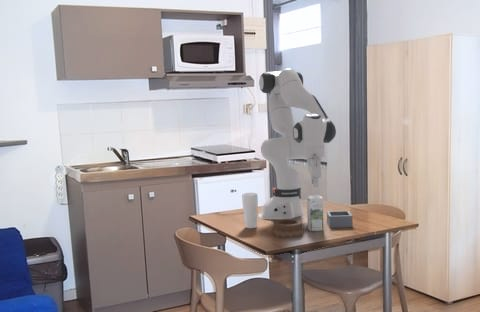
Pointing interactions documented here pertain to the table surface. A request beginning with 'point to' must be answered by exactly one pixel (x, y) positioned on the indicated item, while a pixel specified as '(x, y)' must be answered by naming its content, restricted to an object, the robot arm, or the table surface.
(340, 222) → the slate square socket
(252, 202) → the drinking glass
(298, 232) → the walnut round socket
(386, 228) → the table surface
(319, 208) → the syrup box
